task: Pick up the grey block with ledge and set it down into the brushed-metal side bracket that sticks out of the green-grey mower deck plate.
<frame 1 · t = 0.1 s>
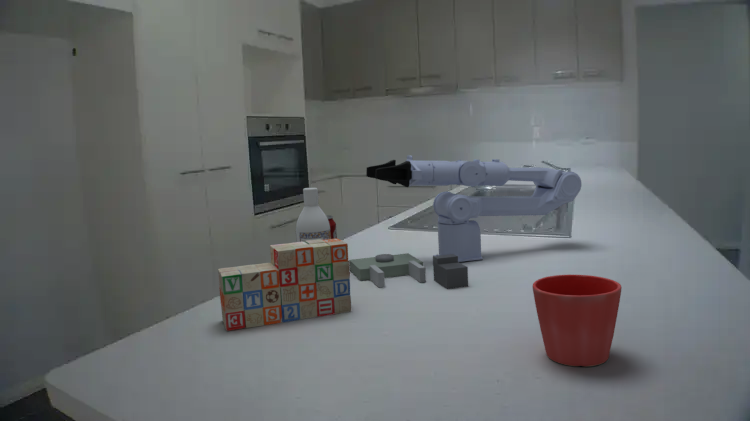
hand: (371, 173, 125), 22 cm above the countertop, tool horizontal, fingers open, 7 cm apart
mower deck: (385, 271, 124), on the countertop
stack of blocks: (287, 317, 97), on the countertop
soda can: (324, 268, 131), on the countertop
flower pot: (576, 357, 74), on the countertop
grey block with ledge: (450, 284, 112), on the countertop
bath foam: (316, 285, 116), on the countertop
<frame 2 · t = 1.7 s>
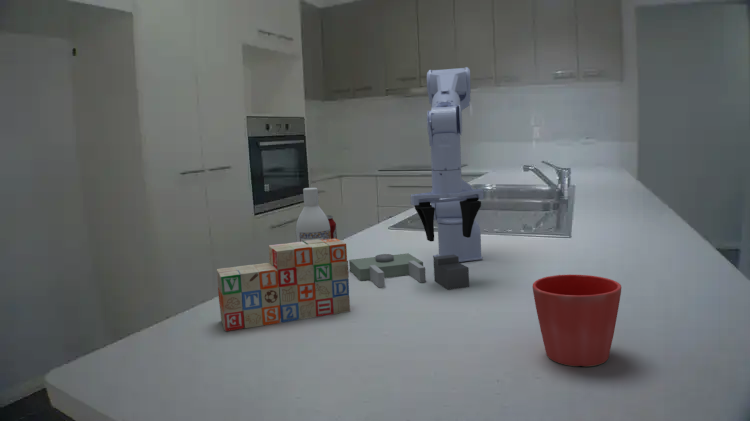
hand: (448, 238, 111), 9 cm above the countertop, tool pointing down, fingers open, 7 cm apart
nothing on the countertop moved.
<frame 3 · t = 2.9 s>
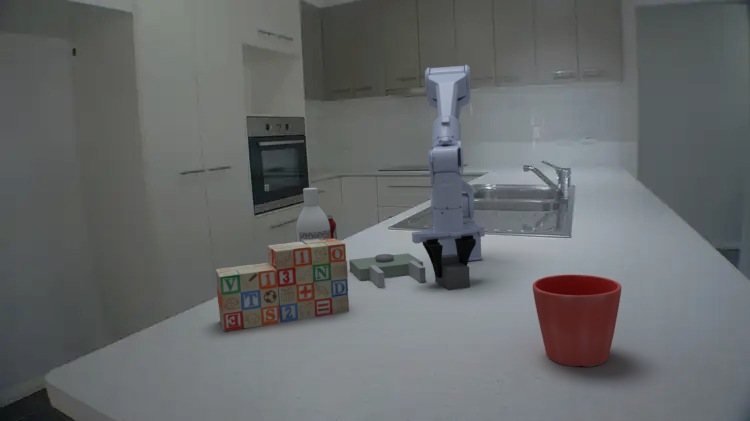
hand: (450, 275, 112), 2 cm above the countertop, tool pointing down, fingers closed on grey block with ledge, 4 cm apart
grey block with ledge: (452, 284, 111), on the countertop, touching gripper
everything else where it was.
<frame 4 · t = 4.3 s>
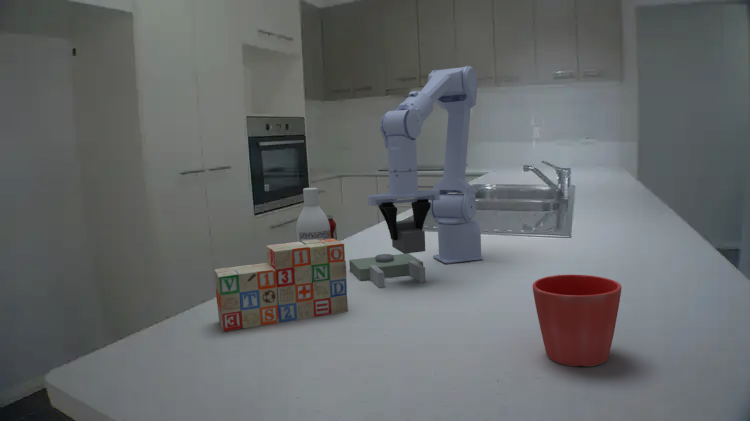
hand: (405, 238, 114), 9 cm above the countertop, tool pointing down, fingers closed on grey block with ledge, 4 cm apart
grey block with ledge: (408, 248, 113), point 7 cm above the countertop, touching gripper
everything else where it was.
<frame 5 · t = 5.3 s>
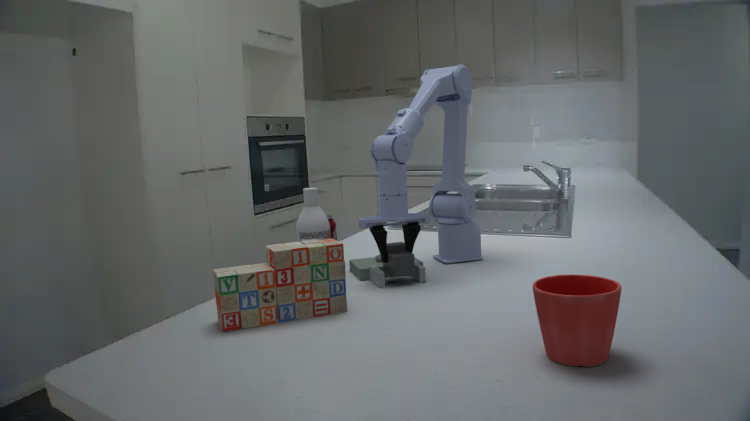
hand: (396, 260, 116), 4 cm above the countertop, tool pointing down, fingers closed on grey block with ledge, 4 cm apart
grey block with ledge: (398, 271, 115), point 2 cm above the countertop, touching gripper
everything else where it was.
when the fingers open (3 cm above the countertop, at t = 6.0 s): grey block with ledge drops 1 cm, on the countertop.
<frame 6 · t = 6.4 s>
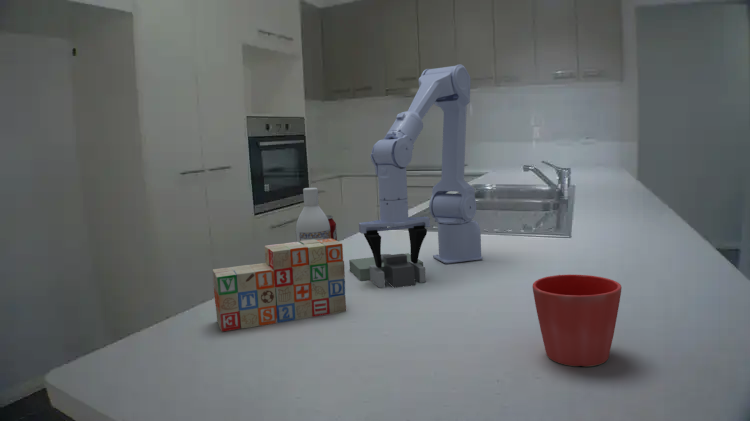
hand: (396, 264, 116), 3 cm above the countertop, tool pointing down, fingers open, 7 cm apart
grey block with ledge: (399, 282, 115), on the countertop
everything else where it was.
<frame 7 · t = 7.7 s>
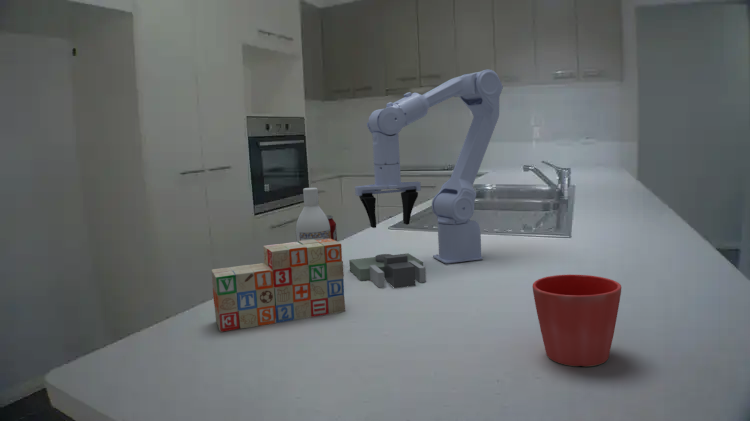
hand: (390, 225, 125), 10 cm above the countertop, tool pointing down, fingers open, 7 cm apart
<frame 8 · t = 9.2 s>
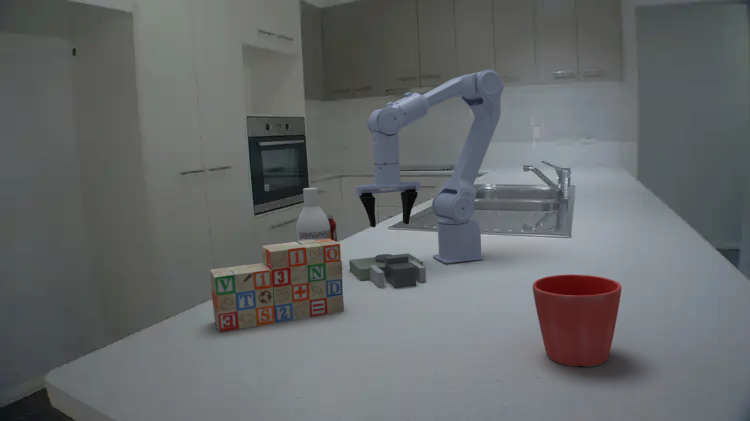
hand: (389, 225, 125), 10 cm above the countertop, tool pointing down, fingers open, 7 cm apart
at the end: grey block with ledge 1.9 cm from the target spot, on the countertop; grey block with ledge tilted 0°; the gripper is holding nothing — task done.
